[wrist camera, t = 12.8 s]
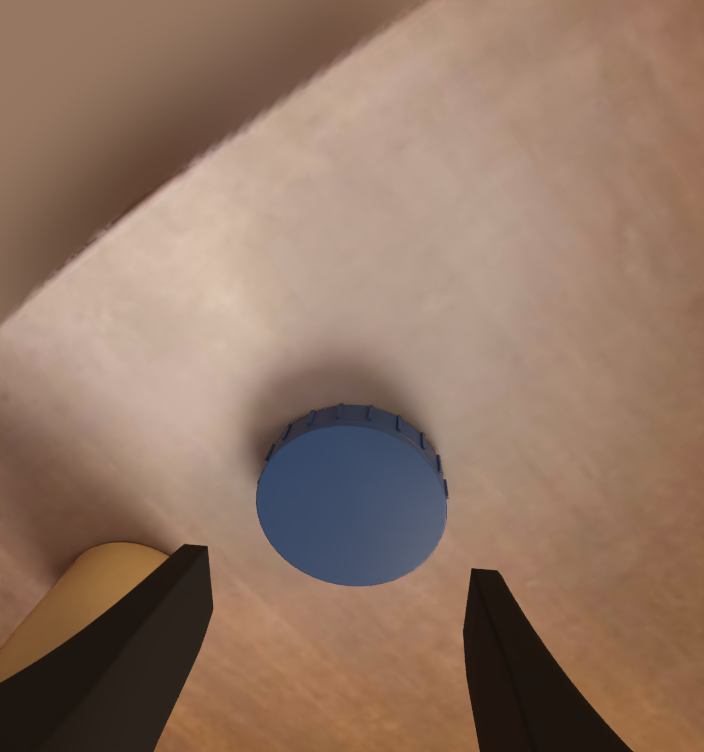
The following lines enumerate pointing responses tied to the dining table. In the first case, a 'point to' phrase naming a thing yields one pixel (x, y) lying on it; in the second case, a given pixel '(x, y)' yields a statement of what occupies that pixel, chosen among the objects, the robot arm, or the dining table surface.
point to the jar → (78, 600)
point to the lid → (353, 496)
